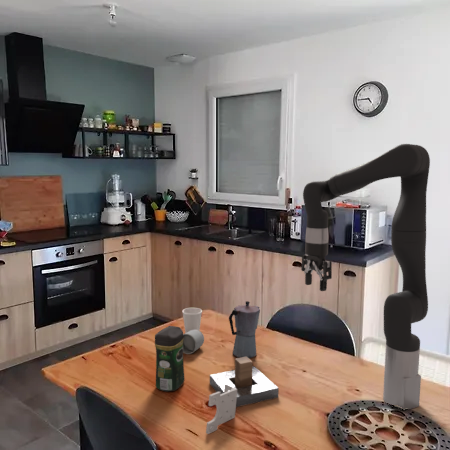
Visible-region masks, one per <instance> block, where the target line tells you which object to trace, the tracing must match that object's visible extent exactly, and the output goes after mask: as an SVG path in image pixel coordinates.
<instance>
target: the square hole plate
mask: <svg viewBox="0 0 450 450" xmlns="http://www.w3.org/2000/svg"><path fill="white" fill-rule="evenodd" d="M225 384H226V385H228V386H231V387H233V388H236V389H237V399H236V408H238V407H243V406H247V405H251V404H255V403H261V402H265V401H268V400H272V399H278V398H279V390H280V389H279V387H278V386H277V385H276V383H274V382H273V381H272V380H270V378H268V377H267V376H266V375H265V374H264V373H262V372H261V371H260V370H259V369H258V368H257V367H256V366H253V365H252V386H247V387H242V388H237V387H236V386H235V369H233V370H228V371H223V372H218V373H213V374H209V385H210V386H211V387H212V388H213V390H214V391H215V393H216V392H218V391H219V392H221V394H222V393H224V389H225ZM228 391H230V390H228Z"/></svg>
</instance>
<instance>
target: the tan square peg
mask: <svg viewBox="0 0 450 450" xmlns="http://www.w3.org/2000/svg"><path fill="white" fill-rule="evenodd" d="M252 367H253V361H252V360H251V358H248V357H247V356H246V357H237V358H234V370H235V386H236V387H237V388H242V387H247V386H252Z"/></svg>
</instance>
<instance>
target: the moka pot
mask: <svg viewBox="0 0 450 450" xmlns="http://www.w3.org/2000/svg"><path fill="white" fill-rule="evenodd" d="M250 303H251V302H250V301H245V304H240V305H237V306H235V307H234V309H232V312H231V313H230V315H229V317H228V322H229V325H230V331H231V334H232V336H235V338H234V344H233V349H232V354H233V355H234V356H235V357H237V358H241V357H246V356H247V357H248V358H249V359H251V358H254V357H255V356H257V342H256V340H257V339H256V333H257V329H258V324H259V318H260V312H261V309H260V306H257V305H250ZM233 316H234V322H233ZM234 327H235V329H234Z"/></svg>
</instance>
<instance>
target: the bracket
mask: <svg viewBox="0 0 450 450" xmlns="http://www.w3.org/2000/svg"><path fill="white" fill-rule="evenodd" d="M228 390H230V391H228ZM236 399H237V389H236V388H233V387H231V386H228V385H226V384H225V389H224V393H222V394H221V392H219V391H218V392H216V391H215V392H213V393H211V394H209V395H208V406H209V407H213V406H215V407H216V412H215V415H214V417H212V419H211V420H210V421H207V422H206V429H205V434H207V435H209V434H211V433H213V432H215V431H217V430H218V427H219V426H220V425H222V424H225V423H227V422H228V421H230V420H232V419H234V418H235V417H236V411H237V410H236V408H237V407H236Z"/></svg>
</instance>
